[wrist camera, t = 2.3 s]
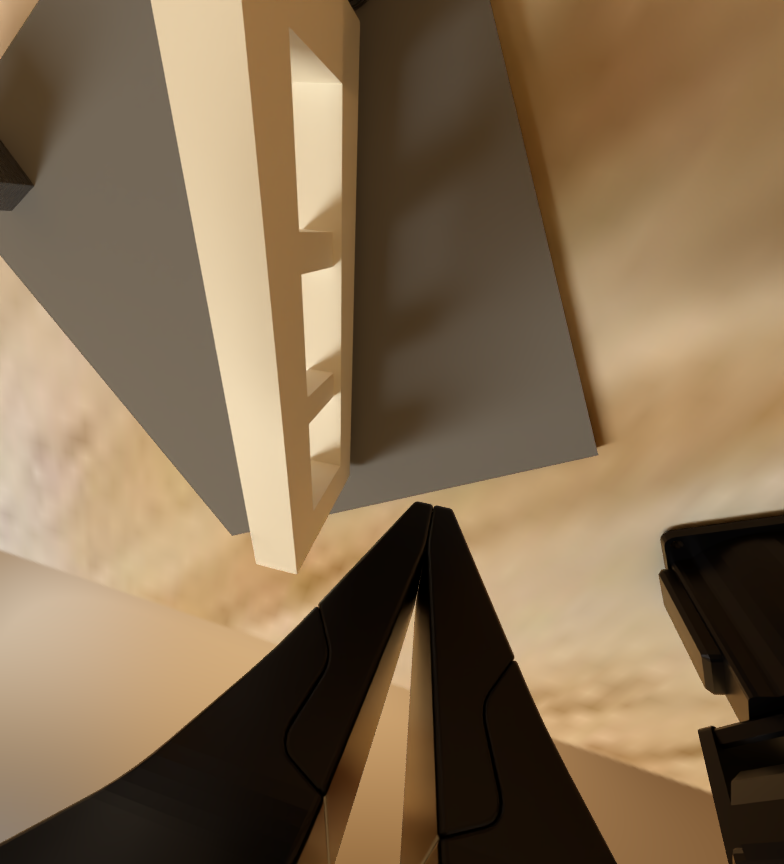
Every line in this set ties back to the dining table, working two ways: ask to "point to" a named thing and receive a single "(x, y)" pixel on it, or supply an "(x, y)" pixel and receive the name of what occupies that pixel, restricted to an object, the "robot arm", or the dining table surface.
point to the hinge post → (357, 3)
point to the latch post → (11, 181)
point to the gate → (274, 239)
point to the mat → (374, 250)
